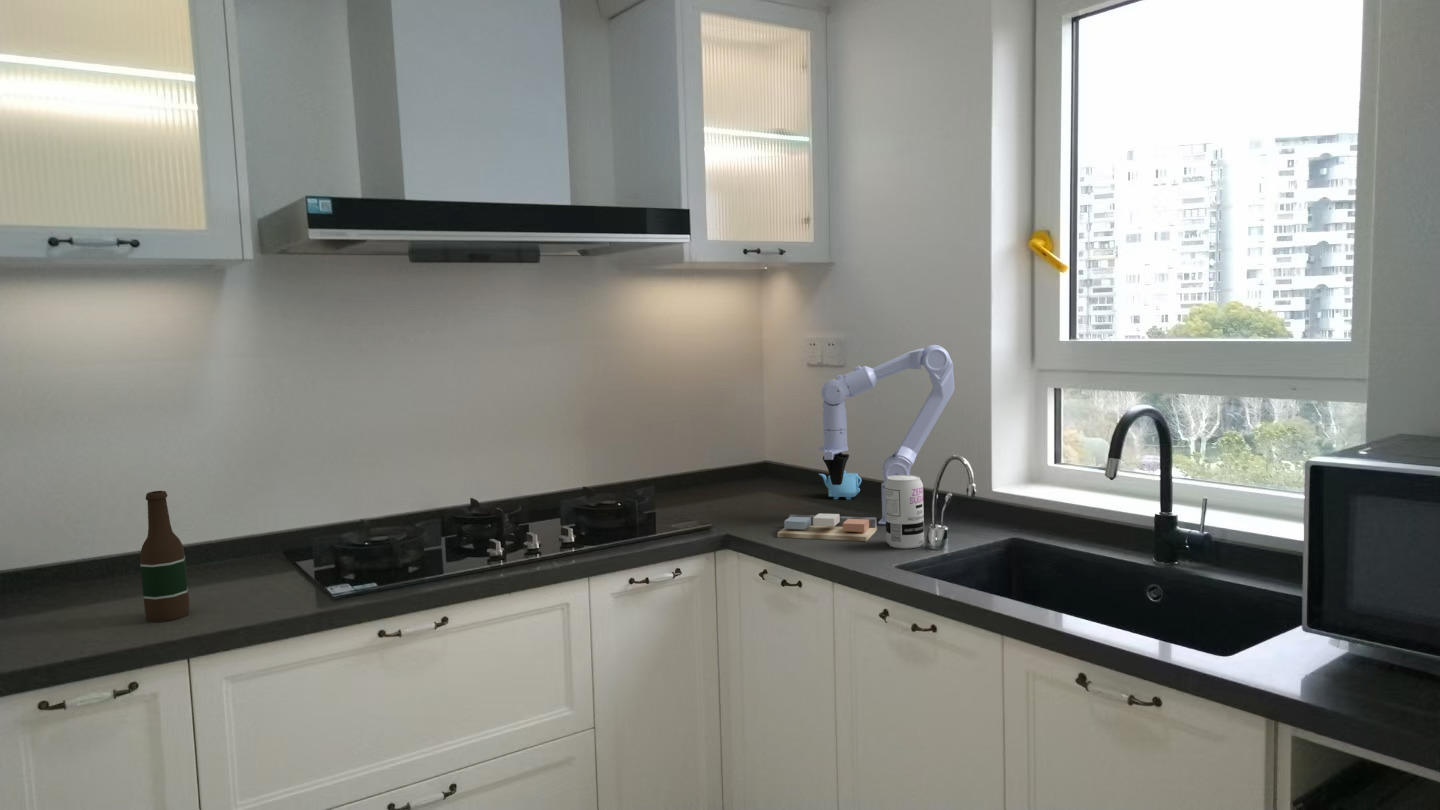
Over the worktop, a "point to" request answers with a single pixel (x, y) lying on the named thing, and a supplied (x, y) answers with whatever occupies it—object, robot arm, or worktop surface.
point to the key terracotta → (856, 525)
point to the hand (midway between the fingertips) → (836, 484)
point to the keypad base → (830, 530)
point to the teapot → (843, 486)
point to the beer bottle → (163, 565)
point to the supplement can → (904, 511)
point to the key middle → (826, 519)
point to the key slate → (797, 523)
